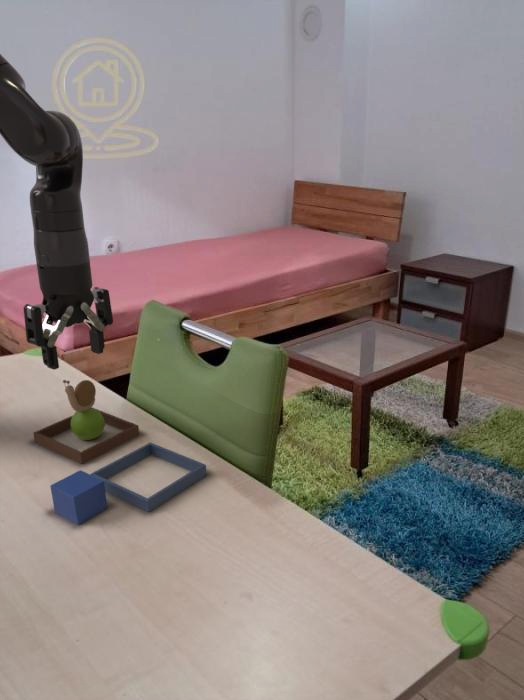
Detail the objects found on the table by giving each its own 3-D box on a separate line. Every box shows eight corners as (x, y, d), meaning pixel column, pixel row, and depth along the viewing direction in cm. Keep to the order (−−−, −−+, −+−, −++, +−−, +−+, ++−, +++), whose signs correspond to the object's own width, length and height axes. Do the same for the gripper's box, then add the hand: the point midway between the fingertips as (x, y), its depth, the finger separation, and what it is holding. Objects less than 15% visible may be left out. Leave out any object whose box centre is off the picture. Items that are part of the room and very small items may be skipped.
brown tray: (35, 445, 106) (32, 432, 104) (93, 419, 115) (91, 407, 113) (82, 467, 99) (80, 453, 98) (139, 438, 108) (138, 425, 107)
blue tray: (92, 488, 94) (89, 474, 93) (151, 455, 103) (150, 442, 102) (148, 516, 88) (147, 501, 87) (206, 478, 97) (206, 464, 96)
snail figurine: (61, 444, 105) (51, 378, 100) (87, 428, 110) (78, 364, 105) (88, 451, 103) (79, 383, 98) (112, 434, 109) (105, 369, 104)
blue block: (55, 515, 88) (49, 485, 86) (84, 499, 92) (80, 469, 89) (78, 528, 85) (73, 497, 83) (108, 511, 89) (104, 480, 87)
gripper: (85, 247, 101) (96, 343, 108) (4, 262, 90) (21, 367, 97) (117, 254, 97) (126, 353, 104) (36, 271, 87) (52, 379, 93)
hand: (75, 360), depth 101 cm, fingers open, 8 cm apart
